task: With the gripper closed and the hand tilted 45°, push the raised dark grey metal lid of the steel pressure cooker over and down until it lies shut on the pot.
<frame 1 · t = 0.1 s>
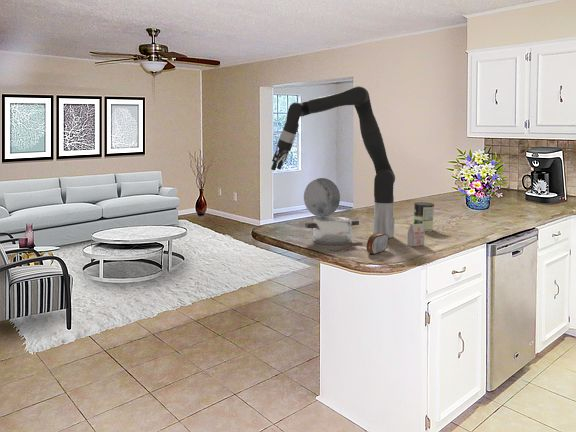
hand: (275, 169, 266), 31 cm above the countertop, tool tilted 20°, fingers open, 8 cm apart
milk carton: (415, 245, 236), on the countertop
coffee can: (422, 230, 273), on the countertop
cooker pot: (332, 240, 244), on the countertop
cooker lid: (321, 197, 253), point 19 cm above the countertop, hinge at 100.0°
tin: (377, 253, 221), on the countertop
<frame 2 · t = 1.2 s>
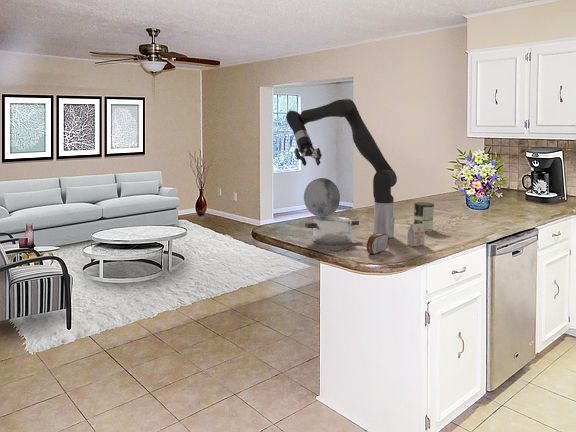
hand: (312, 164, 260), 35 cm above the countertop, tool tilted 45°, fingers open, 7 cm apart
nothing on the countertop moved.
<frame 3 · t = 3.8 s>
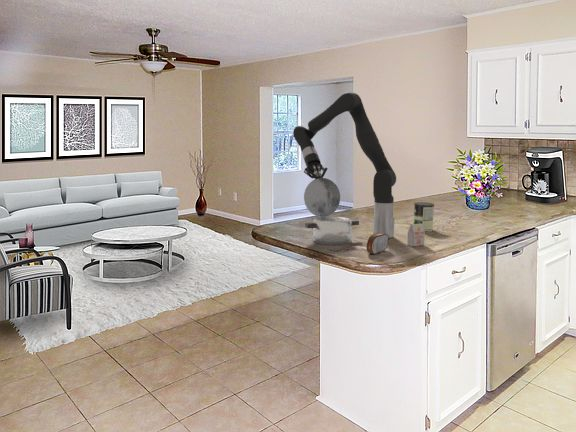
hand: (320, 183, 253), 26 cm above the countertop, tool tilted 45°, fingers closed
cooker lid: (321, 197, 252), point 19 cm above the countertop, hinge at 98.4°, touching gripper
everything else where it was.
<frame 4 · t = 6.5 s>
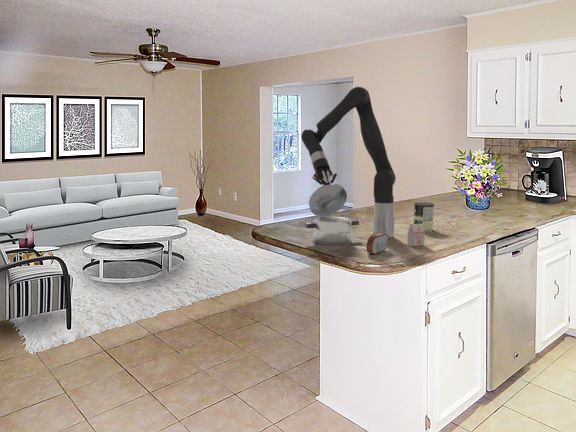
hand: (329, 190, 243), 24 cm above the countertop, tool tilted 45°, fingers closed
cooker lid: (327, 199, 247), point 19 cm above the countertop, hinge at 59.5°, touching gripper
everything else where it was.
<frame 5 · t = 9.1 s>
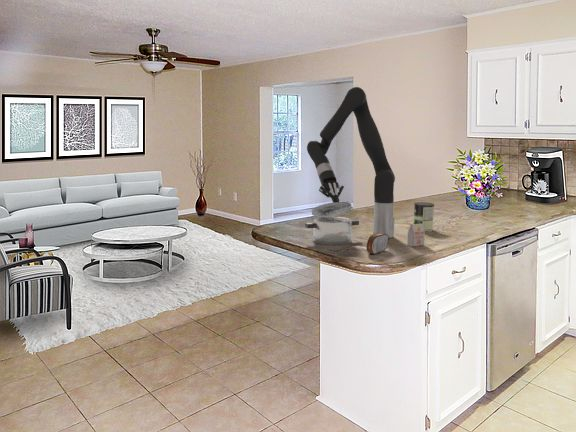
hand: (336, 203, 237), 19 cm above the countertop, tool tilted 45°, fingers closed
cooker lid: (331, 207, 243), point 16 cm above the countertop, hinge at 25.6°, touching gripper
everything else where it was.
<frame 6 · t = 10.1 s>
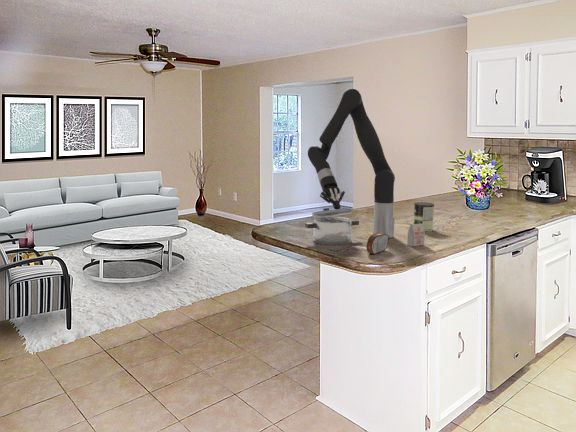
hand: (338, 208, 236), 16 cm above the countertop, tool tilted 45°, fingers closed
cooker lid: (331, 210, 242), point 14 cm above the countertop, hinge at 15.2°, touching gripper
everything else where it was.
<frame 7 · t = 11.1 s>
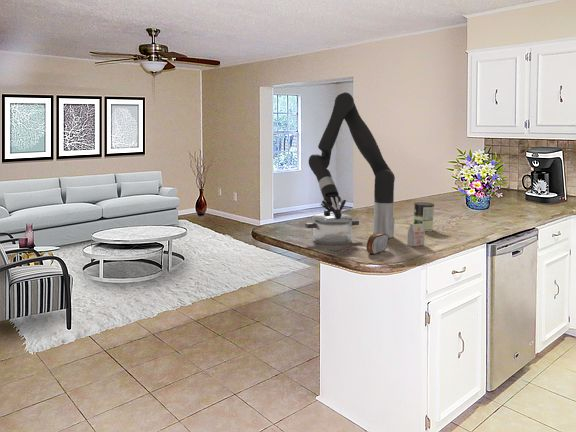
hand: (339, 217, 236), 12 cm above the countertop, tool tilted 45°, fingers closed
cooker lid: (332, 216, 242), point 12 cm above the countertop, hinge at -0.1°, touching gripper
everything else where it was.
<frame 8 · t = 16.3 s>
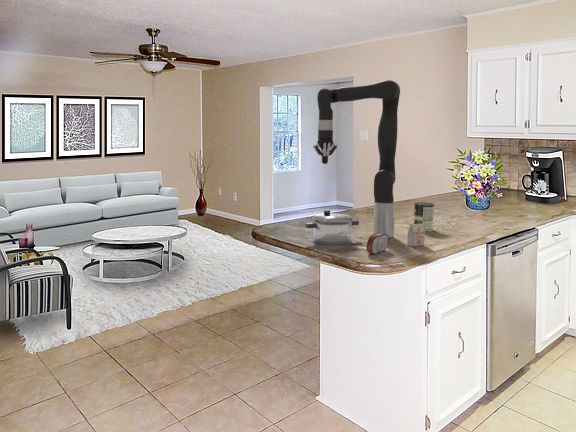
hand: (324, 163, 260), 35 cm above the countertop, tool pointing down, fingers closed
cooker lid: (332, 216, 242), point 12 cm above the countertop, hinge at -0.2°
everything else where it was.
at the end: cooker lid at +0° (first picture: +100°) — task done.
